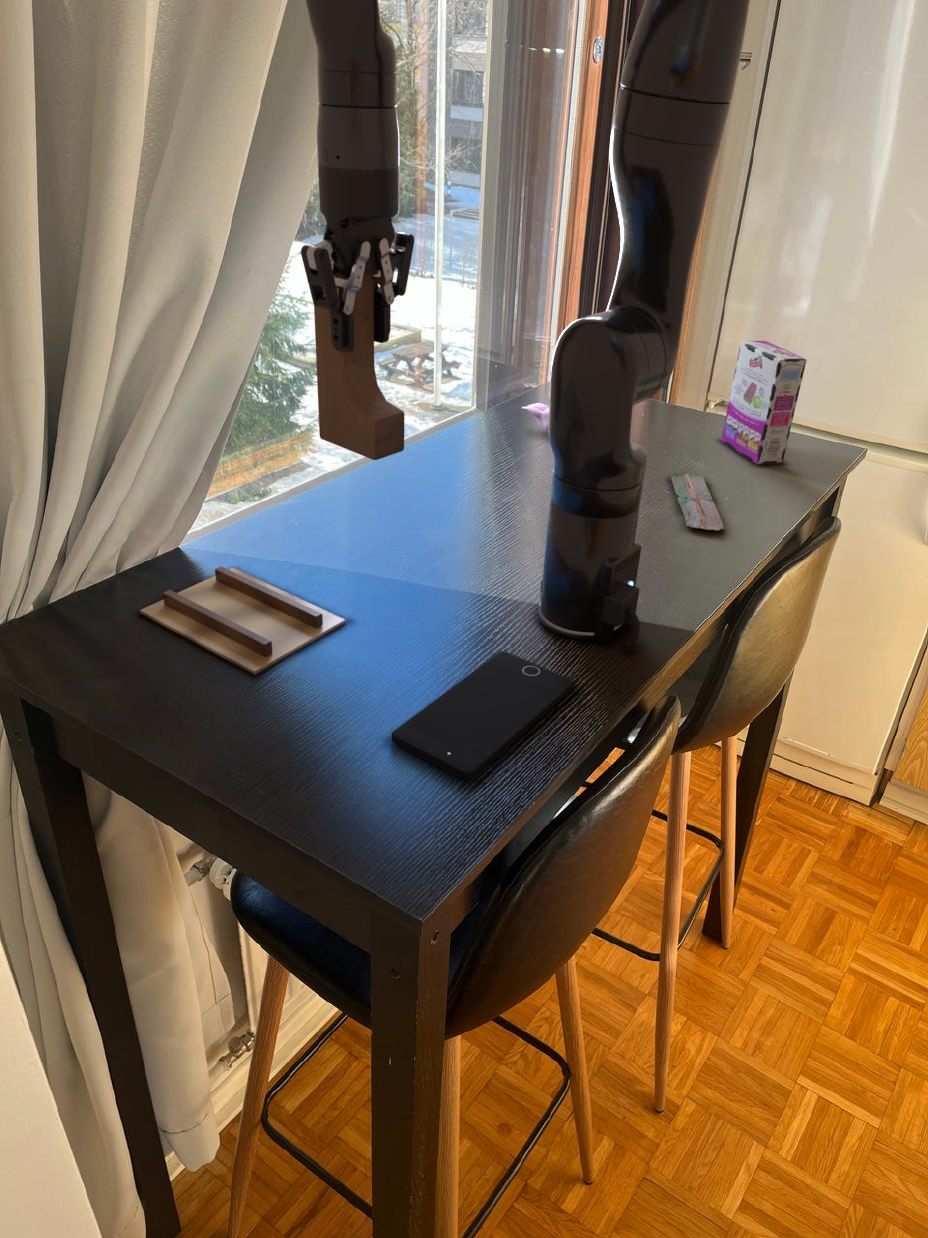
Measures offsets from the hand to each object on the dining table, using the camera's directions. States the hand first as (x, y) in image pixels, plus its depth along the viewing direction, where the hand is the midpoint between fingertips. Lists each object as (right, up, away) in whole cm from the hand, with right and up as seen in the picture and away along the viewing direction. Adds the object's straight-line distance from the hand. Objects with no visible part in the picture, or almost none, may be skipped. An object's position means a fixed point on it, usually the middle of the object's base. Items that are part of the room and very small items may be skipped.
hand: (361, 344), depth 97 cm
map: (+43, -12, +37) cm, 58 cm away
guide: (-13, -28, +6) cm, 31 cm away
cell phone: (+13, -37, -8) cm, 40 cm away
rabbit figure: (+26, +2, +58) cm, 64 cm away
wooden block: (-1, -9, +6) cm, 11 cm away
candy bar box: (+57, -1, +55) cm, 79 cm away
